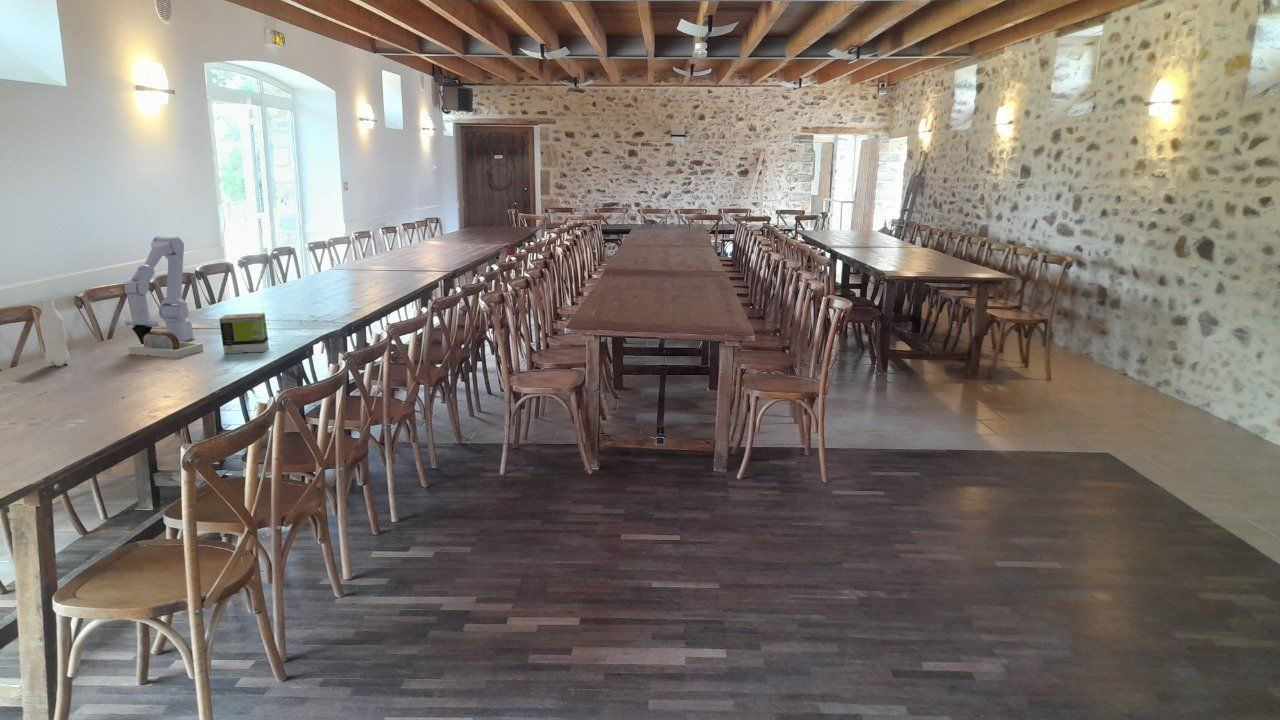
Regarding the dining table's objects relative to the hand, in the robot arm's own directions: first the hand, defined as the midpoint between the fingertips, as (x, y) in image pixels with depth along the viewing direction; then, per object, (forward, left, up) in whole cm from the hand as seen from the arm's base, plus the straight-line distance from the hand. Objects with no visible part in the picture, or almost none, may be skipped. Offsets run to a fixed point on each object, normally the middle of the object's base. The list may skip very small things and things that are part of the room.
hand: (144, 343), depth 306 cm
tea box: (-12, +38, -3) cm, 40 cm away
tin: (+1, +9, -3) cm, 9 cm away
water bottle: (+28, -10, -3) cm, 30 cm away
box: (0, +10, -3) cm, 10 cm away
